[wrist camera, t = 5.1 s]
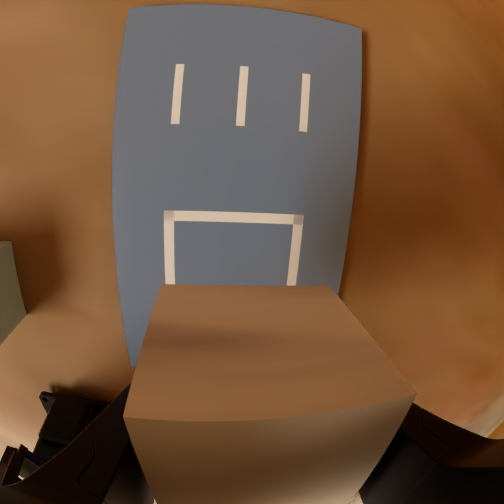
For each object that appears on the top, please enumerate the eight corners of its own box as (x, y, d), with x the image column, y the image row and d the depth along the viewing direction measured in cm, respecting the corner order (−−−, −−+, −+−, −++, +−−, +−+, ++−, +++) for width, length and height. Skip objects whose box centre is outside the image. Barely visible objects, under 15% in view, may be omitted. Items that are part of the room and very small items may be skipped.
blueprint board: (319, 356, 19) (323, 364, 18) (133, 358, 17) (130, 366, 17) (355, 32, 13) (361, 28, 12) (132, 13, 11) (129, 7, 10)
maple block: (304, 400, 11) (345, 507, 6) (172, 405, 10) (166, 523, 5) (328, 285, 9) (416, 393, 5) (160, 283, 9) (123, 416, 4)
